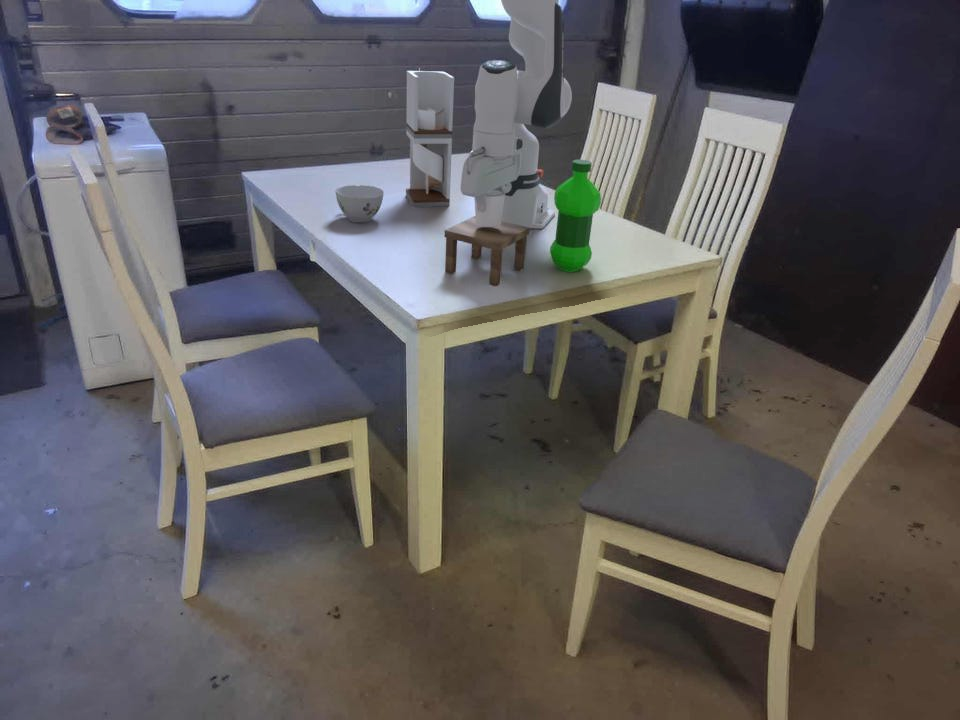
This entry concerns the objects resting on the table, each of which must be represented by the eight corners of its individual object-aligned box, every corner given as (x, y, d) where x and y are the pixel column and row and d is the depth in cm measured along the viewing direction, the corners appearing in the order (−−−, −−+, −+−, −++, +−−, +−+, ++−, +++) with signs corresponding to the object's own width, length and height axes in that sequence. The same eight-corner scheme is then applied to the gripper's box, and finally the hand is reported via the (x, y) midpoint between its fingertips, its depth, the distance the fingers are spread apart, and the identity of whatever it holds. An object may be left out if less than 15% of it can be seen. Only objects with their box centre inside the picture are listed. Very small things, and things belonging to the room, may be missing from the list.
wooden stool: (474, 255, 173) (476, 215, 168) (525, 268, 167) (529, 227, 162) (443, 272, 162) (444, 230, 157) (496, 287, 156) (499, 244, 151)
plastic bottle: (539, 268, 167) (550, 161, 155) (560, 256, 175) (572, 154, 163) (577, 279, 163) (592, 170, 150) (597, 266, 170) (612, 161, 158)
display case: (406, 195, 213) (406, 70, 196) (440, 194, 216) (444, 71, 199) (413, 206, 204) (415, 76, 187) (449, 205, 206) (454, 77, 189)
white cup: (510, 223, 159) (511, 192, 156) (490, 229, 154) (491, 197, 151) (487, 216, 163) (488, 186, 160) (466, 222, 158) (467, 191, 155)
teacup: (392, 222, 190) (392, 193, 186) (350, 229, 183) (349, 199, 179) (365, 207, 200) (364, 179, 197) (324, 213, 194) (323, 184, 190)
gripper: (481, 154, 141) (477, 222, 148) (527, 139, 157) (522, 200, 163) (454, 149, 144) (452, 215, 150) (503, 134, 159) (498, 195, 166)
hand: (489, 207), depth 157 cm, fingers closed on white cup, 5 cm apart
